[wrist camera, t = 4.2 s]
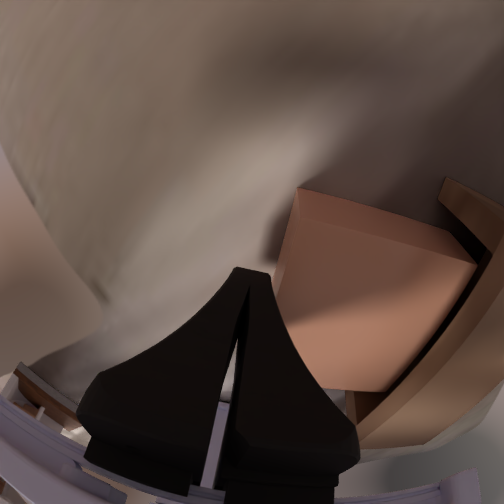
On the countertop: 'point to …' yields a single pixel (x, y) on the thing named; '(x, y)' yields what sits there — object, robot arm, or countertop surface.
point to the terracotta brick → (364, 289)
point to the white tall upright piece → (36, 413)
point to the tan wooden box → (446, 346)
